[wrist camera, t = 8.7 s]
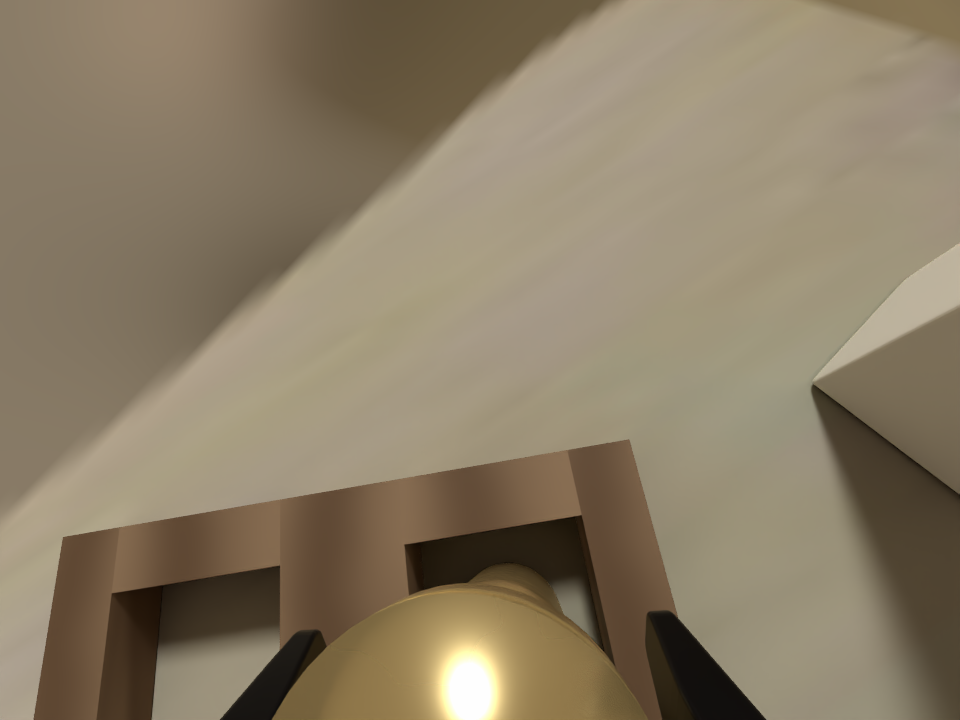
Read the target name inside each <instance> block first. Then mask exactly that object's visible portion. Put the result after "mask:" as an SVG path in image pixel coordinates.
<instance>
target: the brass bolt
mask: <svg viewBox="0 0 960 720" xmlns="http://www.w3.org/2000/svg"><path fill="white" fill-rule="evenodd" d="M272 720H648V718H647V716H646V715H645V713H644V711H643V709H642V708H641V706H640V705H639V703H638V701H637V700H636V698H635V696H634V695H633V693H632V692H631V690H630V688H629V687H628V685H627V684H626V682H625V680H624V679H623V677H622V675H621V674H620V673H619V671H618V670H617V669H616V667H615V666H614V665H613V663H612V662H611V661H610V659H609V658H608V656H607V655H606V654H605V652H604V651H603V650H602V649H601V648H600V647H599V646H598V645H597V644H596V643H595V642H594V641H593V640H592V639H591V637H590V636H589V635H588V634H587V633H586V632H584V631H583V630H582V629H581V628H580V627H578V626H577V625H576V624H575V623H574V622H573V621H571V620H570V619H569V618H568V617H566V616H565V615H564V614H563V611H562V609H561V606H560V604H559V601H558V599H557V596H556V594H555V592H554V591H553V589H552V587H551V586H550V585H549V583H548V582H547V581H546V580H545V579H544V578H543V577H542V576H541V575H540V574H539V573H537V572H536V571H534V570H533V569H531V568H529V567H526V566H524V565H521V564H516V563H500V564H496V565H492V566H490V567H488V568H486V569H484V570H482V571H481V572H480V573H478V574H477V575H476V576H475V577H474V578H472V579H471V580H470V581H469V582H468V583H458V584H450V585H442V586H437V587H433V588H430V589H426V590H423V591H419V592H417V593H414V594H412V595H410V596H408V597H405V598H403V599H401V600H398V601H397V602H395V603H393V604H391V605H389V606H387V607H385V608H384V609H382V610H380V611H378V612H376V613H374V614H373V615H371V616H369V617H368V618H366V619H364V620H363V621H361V622H360V623H358V624H356V625H355V626H353V627H351V628H350V629H348V630H347V631H346V632H345V633H343V634H342V635H341V636H340V637H339V638H337V639H336V640H335V641H334V642H332V643H331V644H330V645H329V646H327V647H326V648H325V650H324V651H323V652H322V653H321V654H320V655H319V656H318V657H317V658H316V659H315V660H314V661H313V662H312V663H311V664H310V665H309V666H308V667H307V668H306V670H305V671H304V672H303V674H302V675H301V676H300V678H299V679H298V680H297V681H296V683H295V684H294V685H293V687H292V688H291V689H290V691H289V692H288V694H287V695H286V697H285V699H284V700H283V702H282V704H281V705H280V707H279V709H278V710H277V712H276V714H275V715H274V717H273V719H272Z"/></svg>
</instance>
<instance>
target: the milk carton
mask: <svg viewBox="0 0 960 720" xmlns="http://www.w3.org/2000/svg"><path fill="white" fill-rule="evenodd" d="M812 382H813V384H814V385H815V386H817V387H818V388H819V389H821V390H822V391H823V392H825V393H826V394H827V395H829V396H830V397H831V398H833V399H834V400H835V401H836V402H838V403H839V404H840V405H842V406H843V407H844V408H846V409H847V410H848V411H850V412H851V413H852V414H854V415H855V416H856V417H858V418H859V419H860V420H862V421H863V422H864V423H865V424H867V425H868V426H869V427H871V428H872V429H873V430H875V431H876V432H877V433H879V434H880V435H881V436H883V437H884V438H885V439H887V440H888V441H889V442H891V443H892V444H893V445H895V446H896V447H897V448H899V449H900V450H901V451H902V452H904V453H905V454H906V455H908V456H909V457H910V458H912V459H913V460H914V461H916V462H917V463H918V464H920V465H921V466H922V467H924V468H925V469H926V470H928V471H929V472H930V473H932V474H933V475H934V476H936V477H937V478H938V479H940V480H941V481H942V482H943V483H945V484H946V485H947V486H949V487H950V488H951V489H953V490H954V491H955V492H957V493H958V494H959V495H960V243H959V244H957V245H956V246H954V247H953V248H951V249H950V250H948V251H947V252H945V253H944V254H942V255H941V256H939V257H938V258H936V259H935V260H933V261H932V262H930V263H929V264H927V265H926V266H924V267H923V268H921V269H920V270H918V271H917V272H915V273H914V274H912V275H911V276H909V277H908V278H907V279H905V280H904V281H903V282H902V283H901V284H900V285H899V286H898V287H897V288H896V289H895V291H894V292H893V293H892V294H891V295H890V296H889V297H888V298H887V299H886V300H885V301H884V302H883V304H882V305H881V306H880V307H879V308H878V309H877V310H876V311H875V312H874V313H873V314H872V315H871V317H870V318H869V319H868V320H867V321H866V322H865V323H864V324H863V325H862V326H861V327H860V329H859V330H858V331H857V332H856V333H855V334H854V335H853V336H852V337H851V338H850V339H849V340H848V342H847V343H846V344H845V345H844V346H843V347H842V348H841V349H840V350H839V351H838V352H837V354H836V355H835V356H834V357H833V358H832V359H831V360H830V361H829V362H828V363H827V364H826V365H825V367H824V368H823V369H822V370H821V371H820V372H819V373H818V374H817V376H816V377H815V378H814V379H813V381H812Z"/></svg>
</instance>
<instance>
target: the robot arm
mask: <svg viewBox="0 0 960 720" xmlns="http://www.w3.org/2000/svg"><path fill="white" fill-rule="evenodd" d="M326 647H327V646H326V643H325V640H324V638H323V635H322V633H321V631H319V630H318V629H312V630H300V631H298V632H296V633H295V634H294V635H293V636H292V637H291V638H290V639H289V640H288V641H287V643H286V644H285V645H284V646H283V647H282V648H281V649H280V651H279V652H278V653H277V654H276V655H275V656H274V658H273V659H272V660H271V661H270V662H269V663H268V665H267V666H266V667H265V668H264V669H263V670H262V672H261V673H260V674H259V675H258V676H257V677H256V679H255V680H254V681H253V682H252V683H251V684H250V685H249V687H248V688H247V689H246V690H245V691H244V692H243V694H242V695H241V696H240V697H239V698H238V699H237V701H236V702H235V703H234V704H233V705H232V706H231V708H230V709H229V710H228V711H227V712H226V713H225V714H224V716H223V717H222V718H221V719H220V720H272V719H273V717H274V715H275V714H276V712H277V710H278V709H279V707H280V705H281V704H282V702H283V700H284V699H285V697H286V695H287V694H288V692H289V691H290V689H291V688H292V687H293V685H294V684H295V683H296V681H297V680H298V679H299V678H300V676H301V675H302V674H303V672H304V671H305V670H306V668H307V667H308V666H309V665H310V664H311V663H312V662H313V661H314V660H315V659H316V658H317V657H318V656H319V655H320V654H321V653H322V652H323V651H324V650H325V648H326ZM645 647H646V653H647V658H648V662H649V666H650V670H651V674H652V679H653V683H654V687H655V691H656V695H657V700H658V704H659V708H660V712H661V716H662V720H766V719H765V718H764V717H763V715H762V714H761V713H760V712H759V711H758V710H757V708H756V707H755V706H754V705H753V704H752V703H751V702H750V700H749V699H748V698H747V697H746V696H745V695H744V694H743V692H742V691H741V690H740V689H739V688H738V687H737V685H736V684H735V683H734V682H733V681H732V680H731V679H730V677H729V676H728V675H727V674H726V673H725V672H724V670H723V669H722V668H721V667H720V666H719V665H718V664H717V662H716V661H715V660H714V659H713V658H712V657H711V656H710V654H709V653H708V652H707V651H706V650H705V649H704V647H703V646H702V645H701V644H700V643H699V642H698V641H697V639H696V638H695V637H694V636H693V635H692V634H691V633H690V631H689V630H688V629H687V628H686V627H685V626H684V624H683V623H682V622H681V621H680V620H679V619H678V618H677V616H676V615H675V614H674V613H673V612H671V611H669V610H658V611H649V612H648V613H647V615H646V632H645Z"/></svg>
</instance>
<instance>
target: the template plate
mask: <svg viewBox="0 0 960 720" xmlns="http://www.w3.org/2000/svg"><path fill="white" fill-rule="evenodd" d="M571 517H575V518H576V523H577V528H578V532H579V537H580V541H581V546H582V551H583V555H584V560H585V564H586V569H587V574H588V578H589V583H590V587H591V592H592V597H593V601H594V606H595V610H596V615H597V620H598V624H599V629H600V633H601V638H602V643H603V647H604V652H605V654H606V655H607V656H608V658H609V659H610V661H611V662H612V663H613V665H614V666H615V667H616V669H617V670H618V671H619V673H620V674H621V675H622V677H623V679H624V680H625V682H626V684H627V685H628V687H629V688H630V690H631V692H632V693H633V695H634V696H635V698H636V700H637V701H638V703H639V705H640V706H641V708H642V709H643V711H644V713H645V715H646V716H647V718H648V720H662V716H661V712H660V708H659V704H658V700H657V695H656V691H655V687H654V683H653V679H652V674H651V670H650V666H649V662H648V658H647V653H646V647H645V632H646V615H647V613H648V612H649V611H658V610H669V611H671V612H673V613H674V614H675V615H676V616H677V612H676V609H675V605H674V601H673V598H672V594H671V590H670V587H669V583H668V579H667V576H666V572H665V568H664V565H663V561H662V557H661V554H660V550H659V546H658V543H657V539H656V536H655V532H654V528H653V525H652V521H651V517H650V514H649V510H648V506H647V503H646V499H645V495H644V492H643V488H642V484H641V481H640V477H639V473H638V470H637V466H636V462H635V459H634V455H633V452H632V448H631V444H630V441H629V440H624V441H618V442H612V443H606V444H600V445H595V446H589V447H583V448H577V449H571V450H566V451H560V452H554V453H548V454H542V455H537V456H531V457H525V458H519V459H513V460H508V461H502V462H496V463H490V464H484V465H479V466H473V467H467V468H461V469H456V470H450V471H444V472H438V473H432V474H427V475H421V476H415V477H409V478H403V479H398V480H392V481H386V482H380V483H374V484H369V485H363V486H357V487H351V488H345V489H340V490H334V491H328V492H322V493H316V494H311V495H305V496H299V497H293V498H287V499H282V500H276V501H270V502H264V503H258V504H253V505H247V506H241V507H235V508H229V509H224V510H218V511H212V512H206V513H200V514H195V515H189V516H183V517H177V518H171V519H166V520H160V521H154V522H148V523H143V524H137V525H131V526H125V527H119V528H114V529H108V530H102V531H96V532H90V533H85V534H79V535H73V536H67V537H63V541H62V547H61V553H60V559H59V565H58V571H57V578H56V584H55V590H54V596H53V602H52V609H51V615H50V621H49V627H48V633H47V639H46V646H45V652H44V658H43V664H42V670H41V677H40V683H39V689H38V695H37V701H36V707H35V714H34V720H151V713H152V701H153V690H154V678H155V666H156V655H157V643H158V631H159V620H160V608H161V596H162V586H163V585H169V584H175V583H181V582H187V581H193V580H199V579H205V578H211V577H217V576H223V575H229V574H235V573H241V572H247V571H253V570H259V569H265V568H271V567H277V566H280V649H281V648H282V647H283V646H284V645H285V644H286V643H287V641H288V640H289V639H290V638H291V637H292V636H293V635H294V634H295V633H296V632H298V631H300V630H312V629H318V630H319V631H321V633H322V635H323V638H324V640H325V643H326V646H329V645H330V644H331V643H332V642H334V641H335V640H336V639H337V638H339V637H340V636H341V635H342V634H343V633H345V632H346V631H347V630H348V629H350V628H351V627H353V626H355V625H356V624H358V623H360V622H361V621H363V620H364V619H366V618H368V617H369V616H371V615H373V614H374V613H376V612H378V611H380V610H382V609H384V608H385V607H387V606H389V605H391V604H393V603H395V602H397V601H398V600H401V599H403V598H405V597H408V596H410V595H412V594H414V593H417V592H419V591H423V590H424V580H423V570H422V560H421V550H420V543H421V542H427V541H433V540H439V539H445V538H451V537H457V536H463V535H469V534H475V533H481V532H487V531H493V530H499V529H505V528H511V527H517V526H523V525H529V524H535V523H541V522H547V521H553V520H559V519H565V518H571ZM677 618H678V616H677Z"/></svg>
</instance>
